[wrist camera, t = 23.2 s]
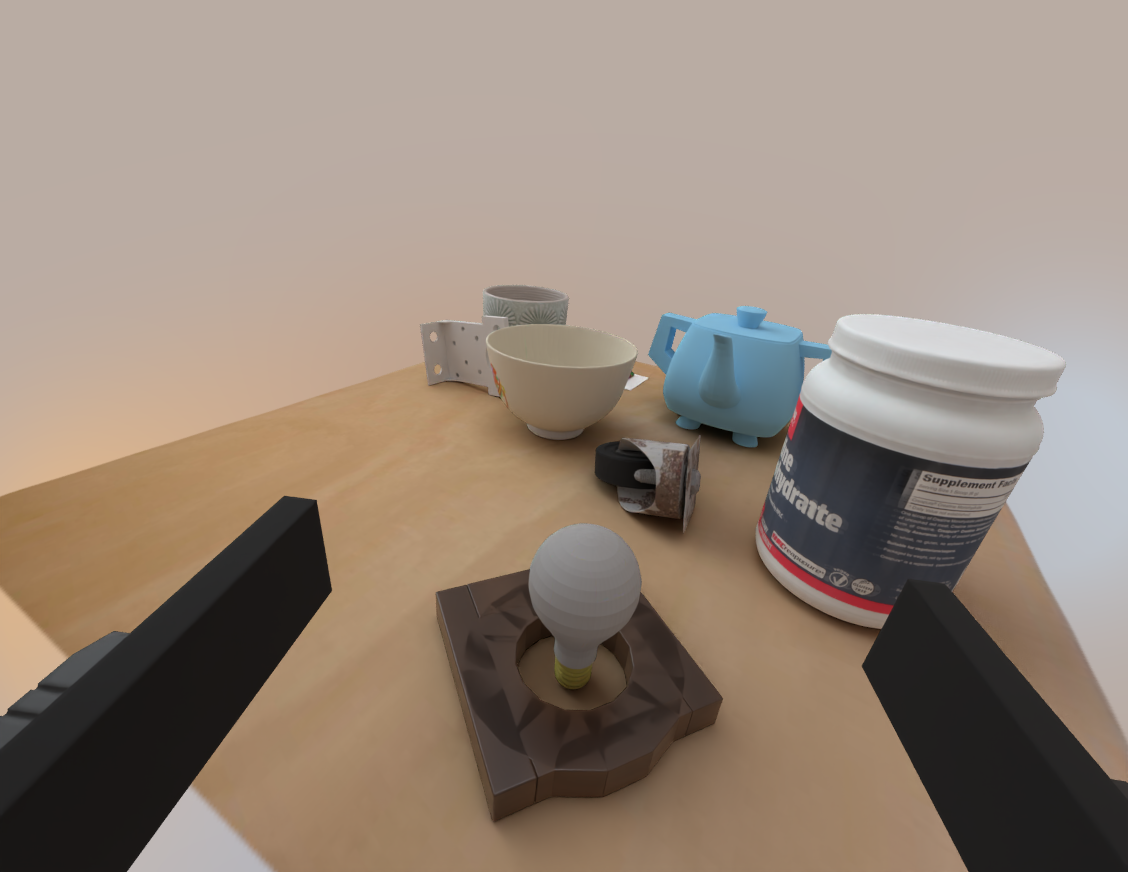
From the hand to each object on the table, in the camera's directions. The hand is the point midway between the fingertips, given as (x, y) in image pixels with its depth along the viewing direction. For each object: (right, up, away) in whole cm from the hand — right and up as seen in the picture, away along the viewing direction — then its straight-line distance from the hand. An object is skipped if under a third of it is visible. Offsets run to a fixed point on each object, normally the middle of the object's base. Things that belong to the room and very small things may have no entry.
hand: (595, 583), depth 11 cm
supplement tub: (+20, -7, +26) cm, 34 cm away
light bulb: (0, -10, +16) cm, 19 cm away
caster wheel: (+6, -2, +34) cm, 34 cm away
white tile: (+7, +12, +62) cm, 64 cm away
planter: (-7, +14, +64) cm, 66 cm away
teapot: (+18, +4, +49) cm, 52 cm away
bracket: (-13, +9, +52) cm, 55 cm away
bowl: (-2, +4, +45) cm, 45 cm away
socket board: (-1, -10, +17) cm, 19 cm away
